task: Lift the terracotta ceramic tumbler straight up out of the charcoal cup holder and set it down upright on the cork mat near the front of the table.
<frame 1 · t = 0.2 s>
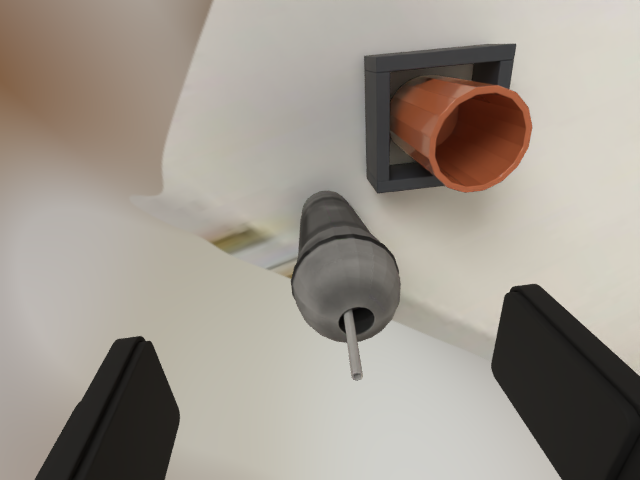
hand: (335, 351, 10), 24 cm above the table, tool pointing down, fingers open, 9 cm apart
beverage cup: (325, 212, 35), on the table
tumbler: (447, 127, 27), in the cup holder
cup holder: (423, 115, 31), on the table
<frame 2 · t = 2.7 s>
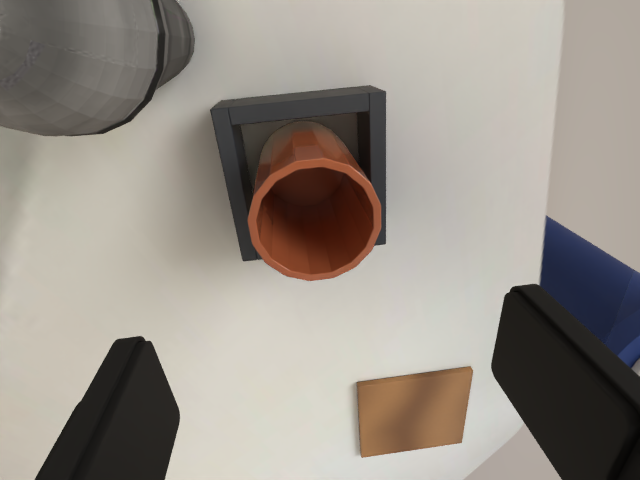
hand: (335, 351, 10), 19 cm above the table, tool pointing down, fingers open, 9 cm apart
beverage cup: (156, 34, 22), on the table
tumbler: (308, 189, 22), in the cup holder
cork mat: (412, 412, 40), on the table
cup holder: (304, 166, 26), on the table
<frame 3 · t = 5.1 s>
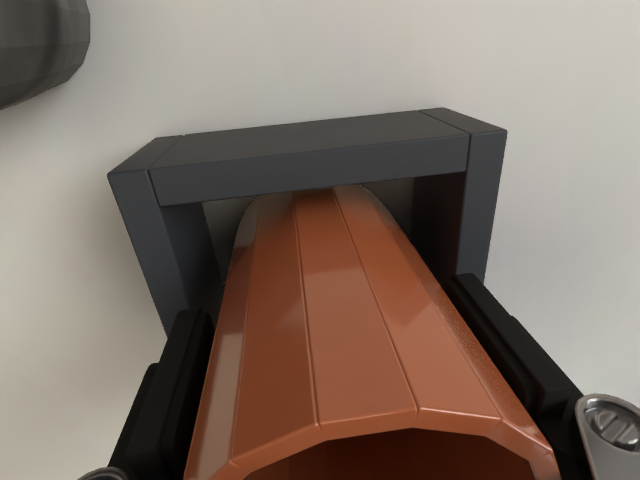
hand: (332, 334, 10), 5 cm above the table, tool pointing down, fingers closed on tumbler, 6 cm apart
beverage cup: (6, 4, 10), on the table
tumbler: (332, 333, 10), in the cup holder, touching gripper
cup holder: (315, 248, 15), on the table
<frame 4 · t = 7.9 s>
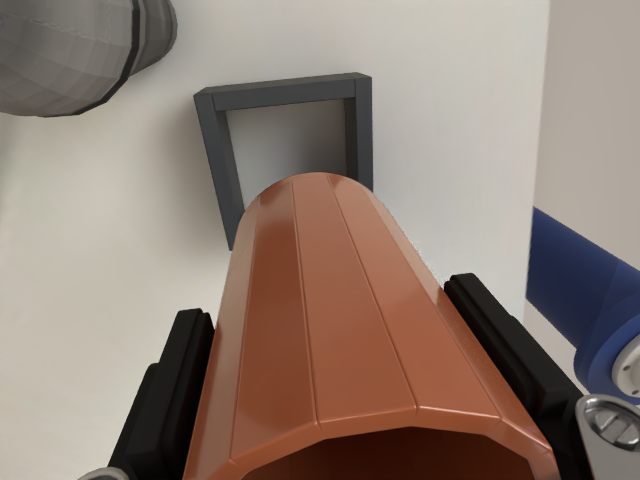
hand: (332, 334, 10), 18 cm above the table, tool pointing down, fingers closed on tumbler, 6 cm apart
beverage cup: (138, 19, 21), on the table
tumbler: (331, 332, 10), point 18 cm above the table, touching gripper
cup holder: (291, 155, 26), on the table
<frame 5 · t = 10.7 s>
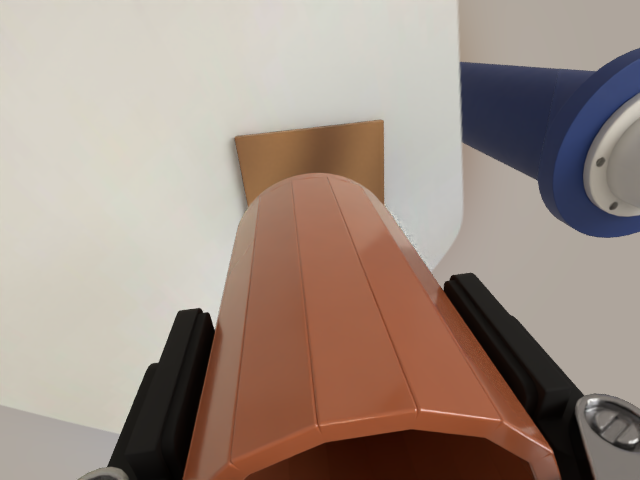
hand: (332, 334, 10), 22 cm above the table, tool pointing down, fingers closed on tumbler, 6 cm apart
tumbler: (331, 333, 10), point 22 cm above the table, touching gripper
cork mat: (316, 196, 32), on the table
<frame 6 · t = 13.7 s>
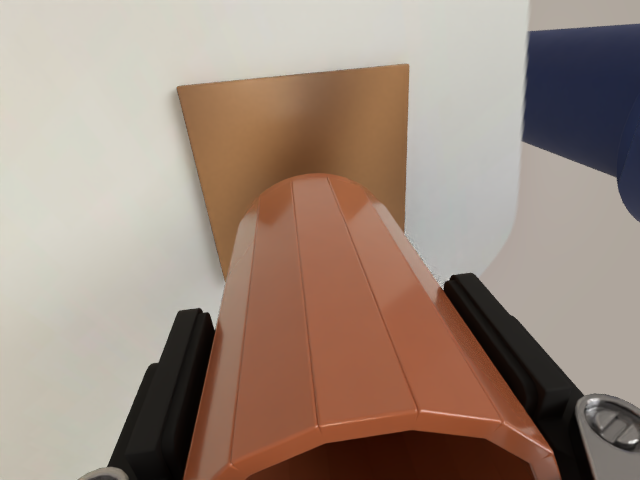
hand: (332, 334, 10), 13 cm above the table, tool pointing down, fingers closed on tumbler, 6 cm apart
tumbler: (332, 334, 10), point 13 cm above the table, touching gripper
cork mat: (305, 183, 22), on the table
when the fingers open (6 cm above the table, at t = 16.3 s): tumbler stays where it is, resting on cork mat.
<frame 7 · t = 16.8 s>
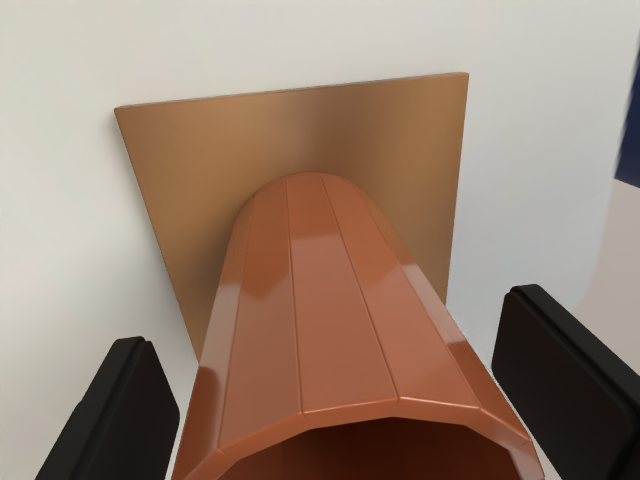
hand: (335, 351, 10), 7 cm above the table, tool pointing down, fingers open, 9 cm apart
tumbler: (324, 329, 11), on the cork mat, point 6 cm above the table
cork mat: (311, 239, 15), on the table
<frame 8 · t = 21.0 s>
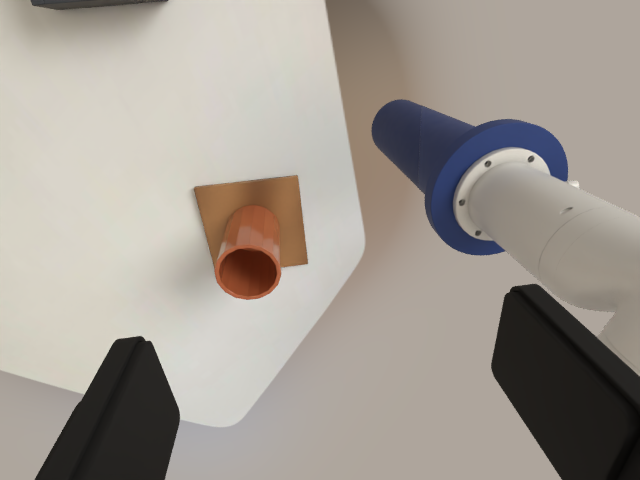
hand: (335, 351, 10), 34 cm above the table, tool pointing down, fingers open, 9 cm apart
tumbler: (251, 248, 40), on the cork mat, point 6 cm above the table
cork mat: (255, 226, 45), on the table
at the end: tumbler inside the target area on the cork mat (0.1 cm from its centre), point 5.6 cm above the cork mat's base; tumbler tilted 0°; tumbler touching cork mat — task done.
